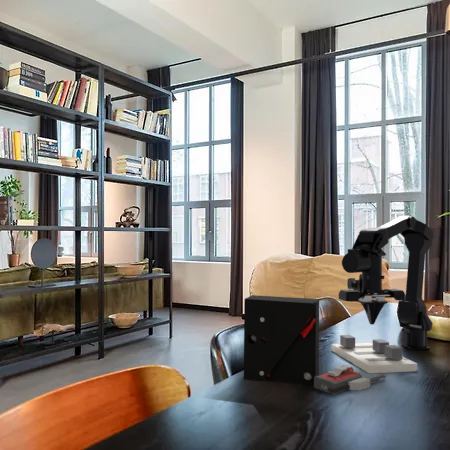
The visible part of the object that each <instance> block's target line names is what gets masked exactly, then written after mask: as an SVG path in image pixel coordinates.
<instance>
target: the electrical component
mask: <svg viewBox="0 0 450 450" xmlns="http://www.w3.org/2000/svg"><path fill="white" fill-rule="evenodd" d="M243 306H244V307H243V308H244V311H243V312H244V315H243V316H244V317H243V318H244V321H243V331H244V332H243V380H247V381H248V380H249V381H259V382H260V381H268V382H278V383H286V384H295V385H303V386H311V387H314V377H316V376H319V374H320V371H319V370H320V367H319V366H320V298H308V297H307V298H305V297H293V296H292V297H288V296H272V295H271V296H270V295H253V294H252V295H250V296H248V297H245V298H244V304H243Z"/></svg>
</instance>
